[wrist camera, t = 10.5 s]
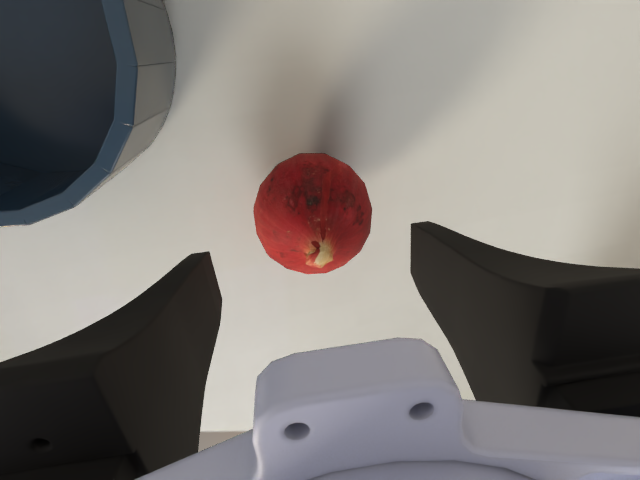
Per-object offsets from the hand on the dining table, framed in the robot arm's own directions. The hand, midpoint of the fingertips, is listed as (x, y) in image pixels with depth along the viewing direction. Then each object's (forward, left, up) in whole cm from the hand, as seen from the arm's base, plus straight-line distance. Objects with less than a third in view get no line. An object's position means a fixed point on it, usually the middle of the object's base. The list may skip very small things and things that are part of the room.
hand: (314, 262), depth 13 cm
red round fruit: (0, -1, -10) cm, 10 cm away
